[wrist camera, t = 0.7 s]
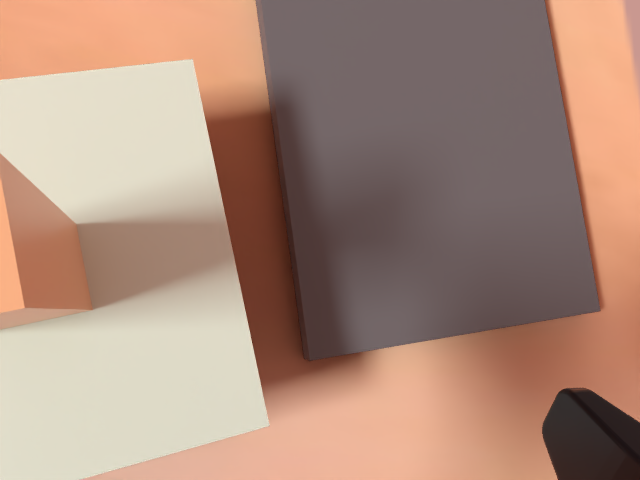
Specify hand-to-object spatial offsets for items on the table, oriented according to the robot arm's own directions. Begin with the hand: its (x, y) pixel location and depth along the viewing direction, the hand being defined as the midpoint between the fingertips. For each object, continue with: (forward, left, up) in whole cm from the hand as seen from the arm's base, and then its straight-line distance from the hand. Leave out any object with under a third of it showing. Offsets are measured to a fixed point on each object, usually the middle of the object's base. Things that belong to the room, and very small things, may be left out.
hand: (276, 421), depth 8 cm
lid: (+3, +5, -11) cm, 13 cm away
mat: (+7, -10, -14) cm, 19 cm away
